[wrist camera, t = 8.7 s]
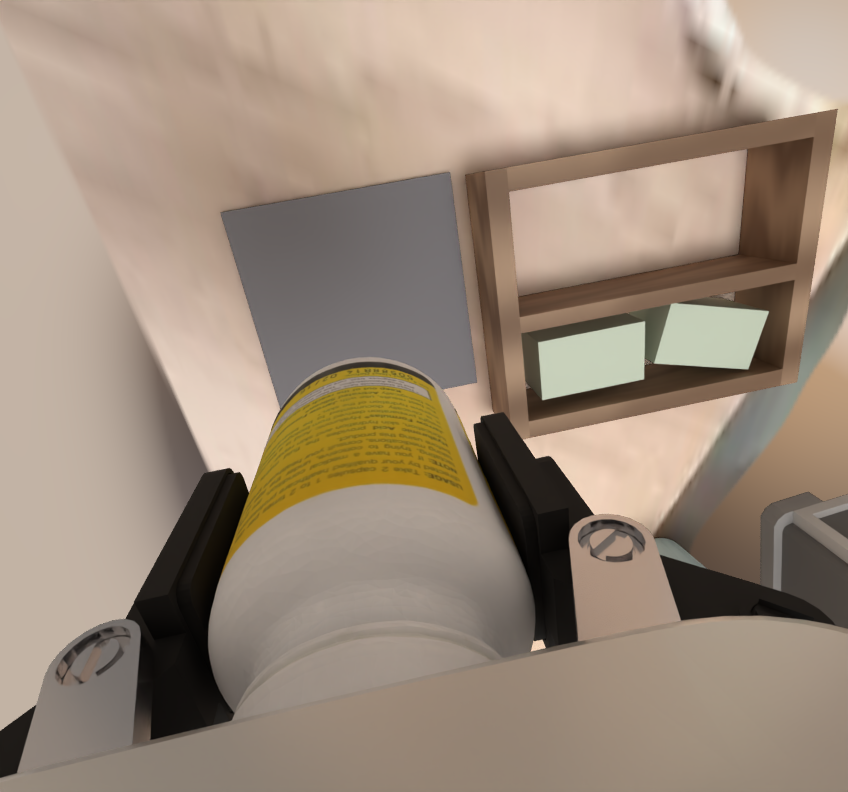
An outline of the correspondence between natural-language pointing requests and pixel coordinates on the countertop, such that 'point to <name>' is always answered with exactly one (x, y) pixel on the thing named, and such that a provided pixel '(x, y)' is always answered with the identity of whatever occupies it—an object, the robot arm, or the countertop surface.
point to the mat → (357, 281)
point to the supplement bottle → (364, 548)
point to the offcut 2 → (702, 333)
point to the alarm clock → (808, 552)
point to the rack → (661, 273)
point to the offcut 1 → (584, 355)
